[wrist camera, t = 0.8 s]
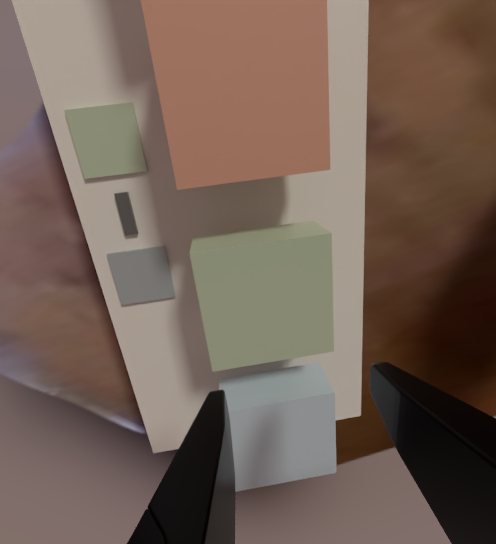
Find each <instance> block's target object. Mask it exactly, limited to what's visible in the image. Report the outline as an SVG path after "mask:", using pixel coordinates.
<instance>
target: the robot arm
mask: <svg viewBox="0 0 496 544" xmlns="http://www.w3.org/2000/svg"><path fill="white" fill-rule="evenodd" d="M370 392H371V395H372V397H373V400H374V402H375V404H376V406H377V408H378V410H379V413H380V415H381V417H382V419H383V421H384V424H385V426H386V428H387V430H388V432H389V435H390V437H391V439H392V441H393V443H394V445H395V447H396V449H397V451H398V453H399V454H400V456H401V458H402V460H403V461H404V463H405V465H406V466H407V468H408V470H409V471H410V473H411V475H412V477H413V478H414V480H415V482H416V484H417V485H418V487H419V489H420V490H421V492H422V494H423V496H424V497H425V499H426V501H427V502H428V504H429V506H430V507H431V509H432V511H433V513H434V514H435V516H436V518H437V519H438V521H439V523H440V525H441V526H442V528H443V529H444V531H445V533H446V535H447V536H448V538H449V540H450V542H451V543H452V544H496V419H495V418H494V417H492V416H490V415H488V414H486V413H484V412H482V411H480V410H478V409H476V408H474V407H473V406H471V405H469V404H467V403H465V402H463V401H461V400H459V399H457V398H455V397H453V396H451V395H449V394H448V393H446V392H444V391H442V390H440V389H438V388H436V387H434V386H432V385H430V384H428V383H426V382H424V381H423V380H421V379H419V378H417V377H415V376H413V375H411V374H409V373H407V372H405V371H403V370H401V369H399V368H397V367H396V366H394V365H392V364H390V363H388V362H380V363H374V364H372V365H371V368H370ZM127 544H235V467H234V457H233V448H232V438H231V428H230V418H229V411H228V406H227V400H226V395H225V391H224V390H223V389H221V390H216V391H211V392H209V393H208V395H207V397H206V399H205V401H204V402H203V404H202V406H201V408H200V410H199V412H198V414H197V416H196V417H195V419H194V421H193V423H192V425H191V427H190V429H189V430H188V432H187V434H186V436H185V438H184V440H183V442H182V443H181V445H180V447H179V449H178V451H177V453H176V455H175V457H174V458H173V461H172V462H171V464H170V466H169V468H168V470H167V471H166V473H165V475H164V477H163V479H162V481H161V483H160V484H159V487H158V488H157V490H156V492H155V494H154V496H153V497H152V499H151V501H150V503H149V505H148V509H146V510H145V512H144V514H143V516H142V518H141V520H140V521H139V523H138V525H137V527H136V529H135V531H134V532H133V534H132V536H131V538H130V539H129V541H128V543H127Z"/></svg>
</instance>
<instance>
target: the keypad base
mask: <svg viewBox="0 0 496 544" xmlns="http://www.w3.org/2000/svg"><path fill="white" fill-rule="evenodd" d="M12 3H13V7H14V10H15V13H16V16H17V19H18V23H19V26H20V29H21V32H22V35H23V39H24V42H25V45H26V48H27V51H28V55H29V58H30V61H31V64H32V67H33V70H34V73H35V77H36V80H37V83H38V86H39V89H40V93H41V96H42V99H43V102H44V106H45V109H46V112H47V115H48V118H49V122H50V125H51V128H52V131H53V134H54V138H55V141H56V144H57V147H58V150H59V154H60V157H61V160H62V163H63V166H64V170H65V173H66V176H67V179H68V182H69V186H70V189H71V192H72V195H73V198H74V201H75V205H76V208H77V211H78V214H79V217H80V221H81V224H82V227H83V230H84V233H85V237H86V240H87V243H88V246H89V249H90V253H91V256H92V259H93V262H94V265H95V269H96V272H97V275H98V278H99V281H100V285H101V288H102V291H103V294H104V297H105V300H106V304H107V307H108V310H109V313H110V316H111V320H112V323H113V326H114V329H115V332H116V336H117V339H118V342H119V345H120V348H121V352H122V355H123V358H124V361H125V364H126V368H127V371H128V374H129V377H130V380H131V384H132V387H133V390H134V393H135V396H136V399H137V403H138V406H139V409H140V412H141V415H142V419H143V422H144V425H145V428H146V431H147V435H148V438H149V441H150V444H151V447H152V451H153V453H158V452H164V451H169V450H175V449H179V447H180V445H181V443H182V442H183V440H184V438H185V436H186V434H187V432H188V430H189V429H190V427H191V425H192V423H193V421H194V419H195V417H196V416H197V414H198V412H199V410H200V408H201V406H202V404H203V402H204V401H205V399H206V397H207V395H208V393H209V392H211V391H216V390H219V379H222V378H228V377H234V376H240V375H246V374H252V373H258V372H263V371H269V370H275V369H281V368H287V367H293V366H299V365H305V364H311V363H317V362H319V363H320V365H321V367H322V368H323V370H324V372H325V374H326V376H327V378H328V380H329V382H330V384H331V386H332V388H333V390H334V392H335V420H340V419H346V418H351V417H357V416H361V379H362V326H363V272H364V219H365V165H366V112H367V58H368V5H369V0H327V24H328V74H329V124H330V170H325V171H317V172H310V173H302V174H294V175H287V176H279V177H272V178H264V179H257V180H249V181H241V182H234V183H226V184H219V185H211V186H204V187H196V188H189V189H181V190H177V186H176V181H175V176H174V171H173V165H172V160H171V155H170V150H169V145H168V140H167V134H166V129H165V124H164V119H163V114H162V108H161V103H160V98H159V93H158V88H157V83H156V77H155V72H154V67H153V62H152V57H151V52H150V46H149V41H148V36H147V31H146V26H145V20H144V15H143V10H142V5H141V0H12ZM313 220H314V221H315V222H316V223H318V224H319V225H321V226H322V227H324V228H325V229H326V230H328V231H329V232H331V233H332V275H333V325H334V352H328V353H322V354H316V355H310V356H304V357H298V358H292V359H286V360H280V361H274V362H268V363H262V364H256V365H250V366H244V367H238V368H232V369H226V370H220V371H215V372H212V367H211V362H210V357H209V352H208V347H207V341H206V336H205V331H204V326H203V321H202V316H201V310H200V305H199V300H198V295H197V290H196V285H195V279H194V274H193V269H192V264H191V259H190V249H191V243H192V238H193V237H200V236H207V235H214V234H221V233H228V232H235V231H242V230H249V229H256V228H263V227H270V226H277V225H284V224H291V223H298V222H305V221H313Z"/></svg>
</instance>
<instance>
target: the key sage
mask: <svg viewBox="0 0 496 544" xmlns="http://www.w3.org/2000/svg"><path fill="white" fill-rule="evenodd" d="M190 259H191V264H192V269H193V274H194V279H195V285H196V290H197V295H198V300H199V305H200V310H201V316H202V321H203V326H204V331H205V336H206V341H207V347H208V352H209V357H210V362H211V367H212V372H215V371H220V370H226V369H232V368H238V367H244V366H250V365H256V364H262V363H268V362H274V361H280V360H286V359H292V358H298V357H304V356H310V355H316V354H322V353H328V352H334V325H333V275H332V233H331V232H329V231H328V230H326V229H325V228H324V227H322V226H321V225H319V224H318V223H316V222H315V221H314V220H313V221H305V222H298V223H291V224H284V225H277V226H270V227H263V228H256V229H249V230H242V231H235V232H228V233H221V234H214V235H207V236H200V237H193V238H192V243H191V249H190Z"/></svg>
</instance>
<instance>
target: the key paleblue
mask: <svg viewBox="0 0 496 544" xmlns="http://www.w3.org/2000/svg"><path fill="white" fill-rule="evenodd" d="M221 389H223V390H224V391H225V395H226V400H227V406H228V411H229V418H230V428H231V438H232V448H233V457H234V467H235V492H237V491H242V490H248V489H253V488H258V487H263V486H268V485H274V484H278V483H284V482H289V481H295V480H300V479H305V478H310V477H315V476H321V475H326V474H331V473H336V426H335V392H334V390H333V388H332V386H331V384H330V382H329V380H328V378H327V376H326V374H325V372H324V370H323V368H322V367H321V365H320V363H319V362H317V363H311V364H305V365H299V366H293V367H287V368H281V369H275V370H269V371H263V372H258V373H252V374H246V375H240V376H234V377H228V378H222V379H219V390H221Z"/></svg>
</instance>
